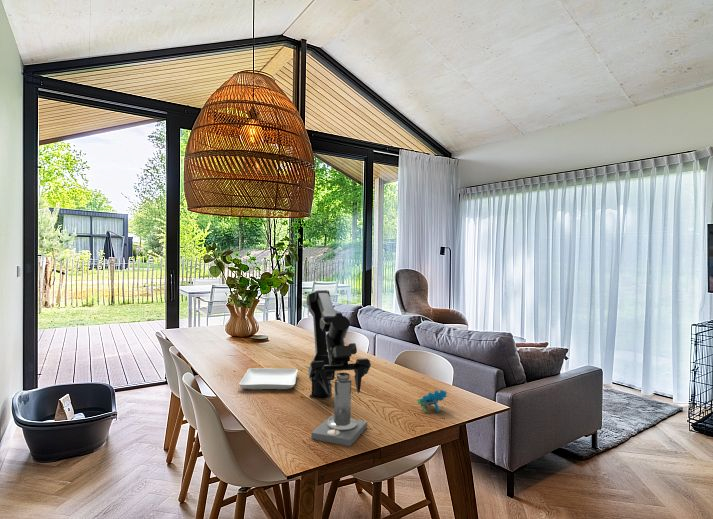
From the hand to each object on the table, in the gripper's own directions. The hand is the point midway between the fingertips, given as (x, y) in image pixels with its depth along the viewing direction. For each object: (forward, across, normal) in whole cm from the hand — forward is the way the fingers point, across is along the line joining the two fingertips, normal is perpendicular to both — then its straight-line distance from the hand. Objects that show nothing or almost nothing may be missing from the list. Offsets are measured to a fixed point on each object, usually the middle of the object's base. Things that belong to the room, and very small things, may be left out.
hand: (344, 393), depth 129 cm
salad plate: (-28, -17, +46) cm, 56 cm away
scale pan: (+6, 0, +8) cm, 10 cm away
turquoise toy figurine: (0, +35, +17) cm, 39 cm away
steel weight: (+6, 0, +8) cm, 9 cm away
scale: (+8, -1, +8) cm, 12 cm away
